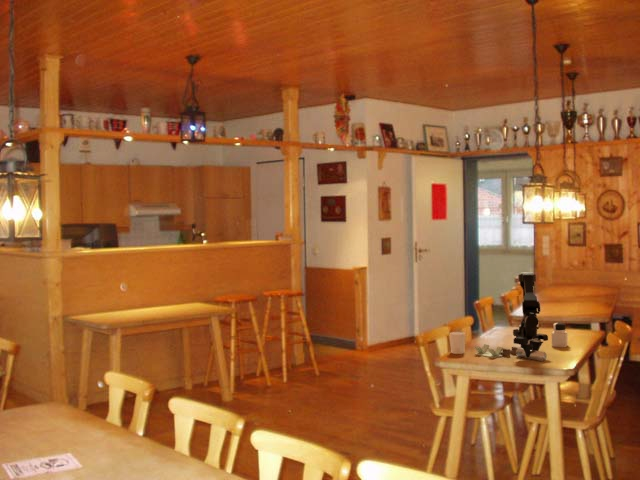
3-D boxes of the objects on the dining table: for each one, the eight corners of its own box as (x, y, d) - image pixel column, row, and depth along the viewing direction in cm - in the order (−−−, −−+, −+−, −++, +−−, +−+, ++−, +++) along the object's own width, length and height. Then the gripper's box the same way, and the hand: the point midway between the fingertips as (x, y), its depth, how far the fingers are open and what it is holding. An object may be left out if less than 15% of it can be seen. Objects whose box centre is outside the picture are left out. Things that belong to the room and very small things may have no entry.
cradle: (485, 352, 385) (485, 344, 385) (503, 356, 375) (503, 347, 375) (474, 354, 381) (474, 346, 381) (492, 358, 371) (492, 349, 371)
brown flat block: (506, 352, 385) (505, 345, 385) (519, 354, 378) (519, 347, 378) (494, 354, 380) (494, 347, 380) (508, 356, 373) (507, 349, 373)
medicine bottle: (567, 345, 399) (567, 322, 399) (565, 347, 393) (565, 324, 393) (553, 344, 402) (553, 321, 402) (551, 346, 396) (551, 323, 396)
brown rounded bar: (515, 357, 372) (515, 347, 372) (521, 356, 374) (522, 347, 374) (540, 361, 359) (540, 352, 359) (546, 360, 362) (546, 351, 362)
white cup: (465, 354, 382) (465, 334, 382) (449, 354, 384) (449, 334, 383) (465, 351, 390) (465, 332, 389) (450, 351, 391) (449, 331, 391)
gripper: (530, 320, 378) (530, 352, 379) (504, 324, 367) (505, 356, 368) (548, 323, 369) (549, 355, 369) (522, 327, 358) (523, 360, 359)
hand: (531, 356), depth 367 cm, fingers closed on brown rounded bar, 4 cm apart
